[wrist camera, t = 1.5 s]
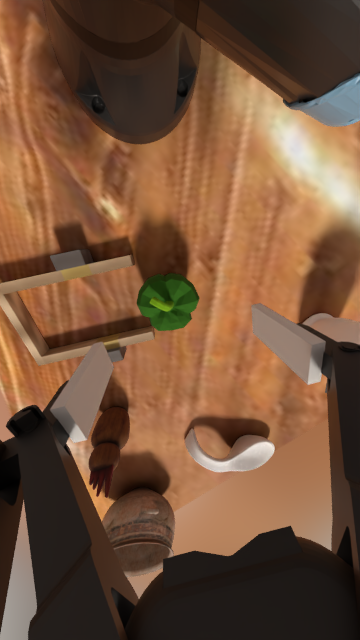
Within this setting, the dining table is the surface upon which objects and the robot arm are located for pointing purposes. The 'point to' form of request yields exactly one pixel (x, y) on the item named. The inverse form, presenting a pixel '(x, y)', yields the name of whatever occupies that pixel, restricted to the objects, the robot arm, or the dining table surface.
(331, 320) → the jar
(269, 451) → the spoon rest
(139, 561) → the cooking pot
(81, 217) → the dining table surface
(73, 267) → the tan wooden u-shaped frame
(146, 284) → the bell pepper
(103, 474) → the wooden figurine
